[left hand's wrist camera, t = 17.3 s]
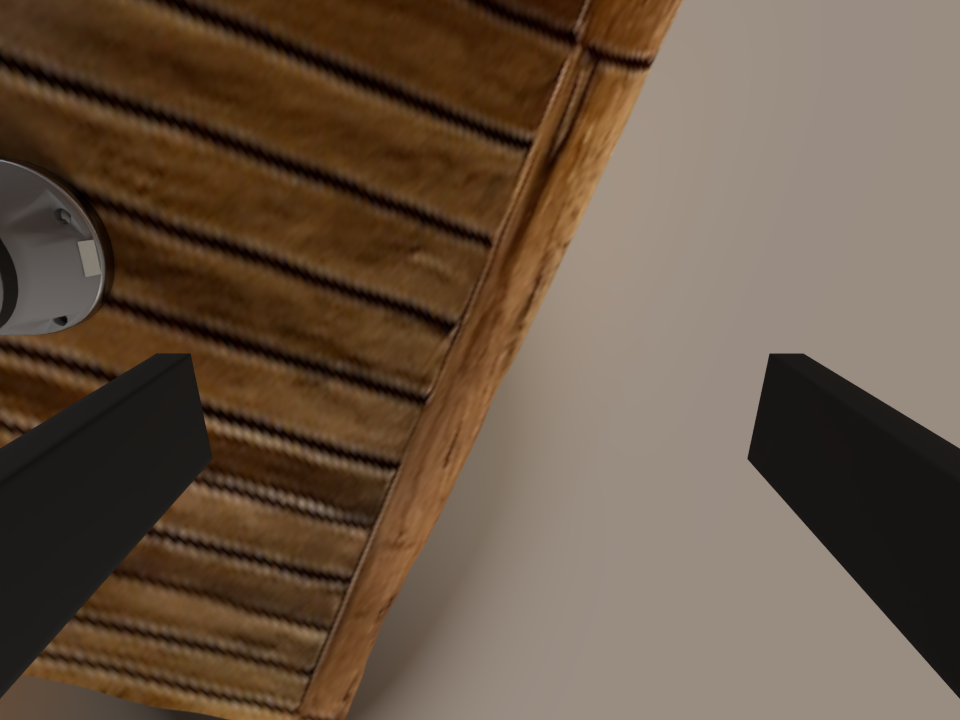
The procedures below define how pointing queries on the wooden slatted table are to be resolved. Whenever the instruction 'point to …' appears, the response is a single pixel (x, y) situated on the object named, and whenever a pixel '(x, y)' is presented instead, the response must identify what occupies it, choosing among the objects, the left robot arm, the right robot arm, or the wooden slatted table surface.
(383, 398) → the wooden slatted table surface
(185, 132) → the wooden slatted table surface
